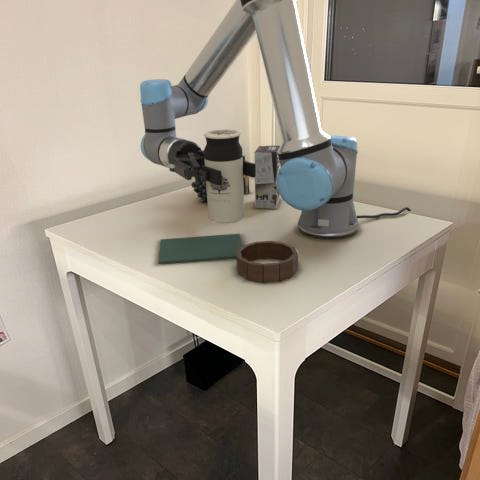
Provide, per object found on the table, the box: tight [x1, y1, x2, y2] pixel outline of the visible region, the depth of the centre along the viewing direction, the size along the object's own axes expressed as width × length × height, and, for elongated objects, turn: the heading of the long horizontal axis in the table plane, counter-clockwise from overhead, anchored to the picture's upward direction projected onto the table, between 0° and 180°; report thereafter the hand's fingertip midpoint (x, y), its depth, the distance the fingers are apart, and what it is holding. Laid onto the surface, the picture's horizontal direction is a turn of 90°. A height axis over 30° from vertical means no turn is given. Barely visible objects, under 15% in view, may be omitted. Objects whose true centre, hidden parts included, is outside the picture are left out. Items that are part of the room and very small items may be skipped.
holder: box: [235, 240, 299, 284], centre depth 105 cm, size 13×13×4 cm
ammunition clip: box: [243, 154, 251, 195], centre depth 155 cm, size 11×2×12 cm, turn 41°
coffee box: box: [254, 145, 281, 210], centre depth 140 cm, size 9×6×16 cm
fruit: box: [190, 179, 207, 203], centre depth 146 cm, size 9×8×15 cm
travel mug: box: [203, 129, 245, 224], centre depth 102 cm, size 8×8×18 cm
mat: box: [158, 233, 243, 265], centre depth 117 cm, size 20×14×1 cm
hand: (237, 174), depth 98 cm, fingers closed on travel mug, 8 cm apart
